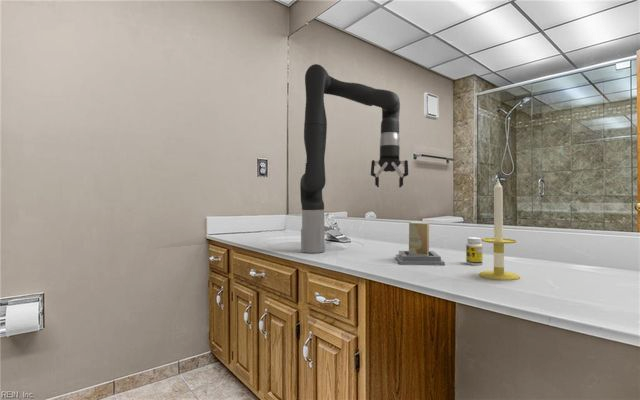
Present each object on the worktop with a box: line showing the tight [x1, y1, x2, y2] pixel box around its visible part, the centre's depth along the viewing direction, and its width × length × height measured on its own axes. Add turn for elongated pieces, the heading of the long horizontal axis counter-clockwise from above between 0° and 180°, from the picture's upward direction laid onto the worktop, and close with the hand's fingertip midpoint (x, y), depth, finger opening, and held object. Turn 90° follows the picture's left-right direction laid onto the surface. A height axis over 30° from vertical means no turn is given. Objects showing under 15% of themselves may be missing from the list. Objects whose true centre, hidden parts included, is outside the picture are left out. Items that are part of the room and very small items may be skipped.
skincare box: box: [408, 221, 430, 256], centre depth 115 cm, size 6×4×12 cm
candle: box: [478, 179, 521, 281], centre depth 92 cm, size 10×10×27 cm
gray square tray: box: [395, 250, 446, 266], centre depth 115 cm, size 14×14×2 cm
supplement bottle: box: [465, 236, 483, 266], centre depth 109 cm, size 5×5×8 cm
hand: (388, 187), depth 130 cm, fingers open, 8 cm apart
